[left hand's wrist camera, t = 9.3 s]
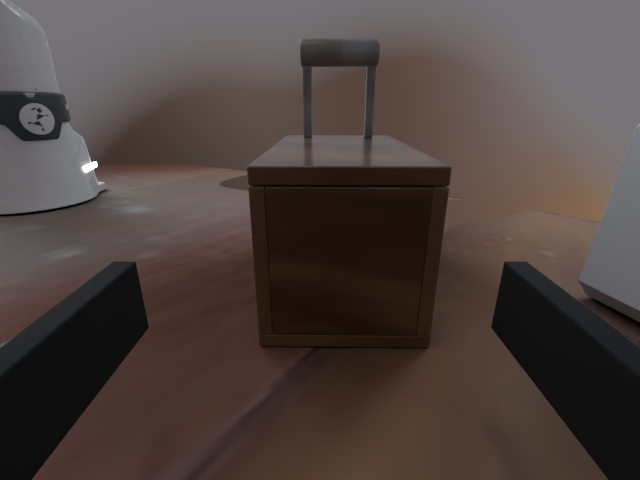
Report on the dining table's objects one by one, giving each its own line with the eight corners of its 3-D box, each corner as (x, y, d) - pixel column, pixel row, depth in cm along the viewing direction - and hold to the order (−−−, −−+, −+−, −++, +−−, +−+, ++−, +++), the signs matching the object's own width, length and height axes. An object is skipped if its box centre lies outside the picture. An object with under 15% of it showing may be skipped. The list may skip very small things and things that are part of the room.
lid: (286, 145, 34) (283, 42, 31) (387, 145, 34) (394, 42, 30) (247, 185, 17) (231, -34, 14) (450, 186, 17) (479, -36, 14)
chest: (289, 238, 36) (286, 146, 33) (382, 239, 36) (388, 147, 33) (259, 346, 20) (248, 186, 17) (428, 348, 20) (449, 187, 17)
